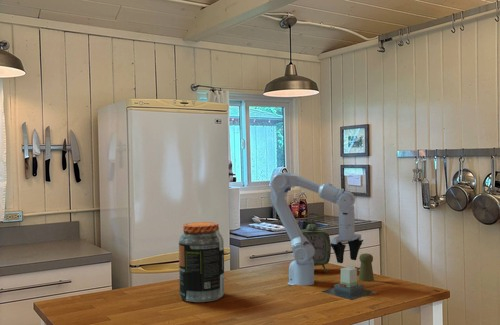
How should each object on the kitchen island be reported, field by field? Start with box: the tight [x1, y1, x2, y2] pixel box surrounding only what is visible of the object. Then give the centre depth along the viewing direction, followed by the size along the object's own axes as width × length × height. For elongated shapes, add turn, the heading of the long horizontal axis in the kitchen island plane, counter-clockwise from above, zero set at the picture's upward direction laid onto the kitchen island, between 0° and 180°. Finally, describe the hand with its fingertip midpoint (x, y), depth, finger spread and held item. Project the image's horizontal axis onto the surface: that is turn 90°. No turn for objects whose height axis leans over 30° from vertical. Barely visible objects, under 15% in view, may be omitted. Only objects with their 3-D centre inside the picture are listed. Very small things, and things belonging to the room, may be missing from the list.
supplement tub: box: [178, 221, 225, 303], centre depth 174 cm, size 16×16×26 cm
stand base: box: [320, 282, 378, 301], centre depth 176 cm, size 14×14×4 cm
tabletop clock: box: [300, 212, 332, 273], centre depth 211 cm, size 14×9×25 cm, turn 90°
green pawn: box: [358, 252, 375, 282], centre depth 193 cm, size 6×6×11 cm
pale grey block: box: [339, 266, 358, 288], centre depth 176 cm, size 4×4×6 cm
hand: (346, 261), depth 183 cm, fingers open, 7 cm apart
